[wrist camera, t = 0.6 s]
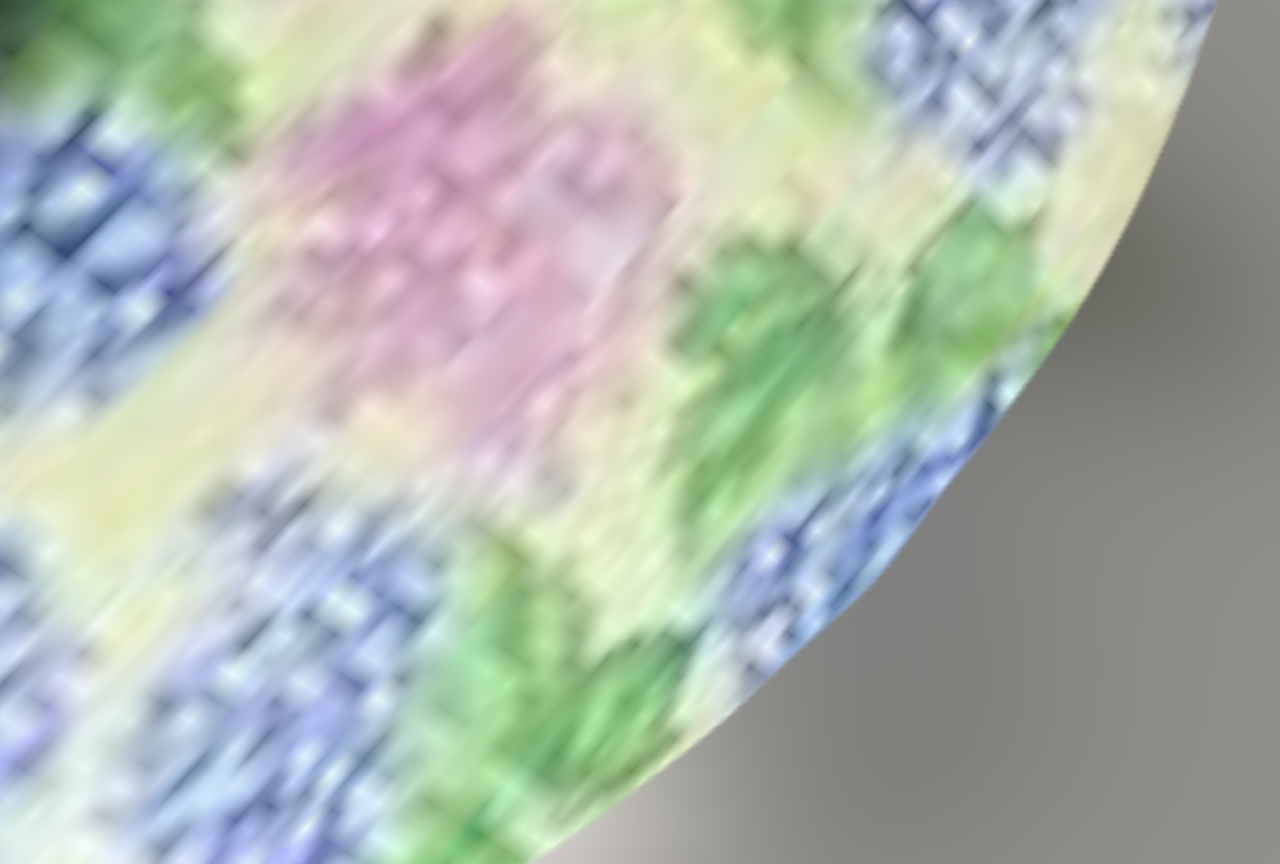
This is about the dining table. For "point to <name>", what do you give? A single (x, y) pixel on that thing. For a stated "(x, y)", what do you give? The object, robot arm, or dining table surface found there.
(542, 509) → the dining table surface
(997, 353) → the dining table surface
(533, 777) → the dining table surface
